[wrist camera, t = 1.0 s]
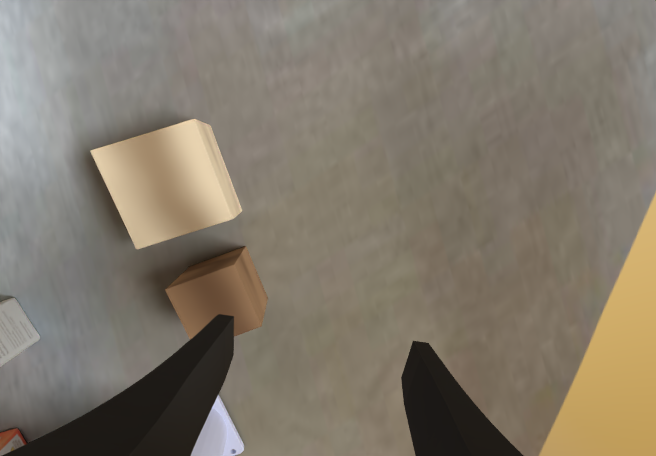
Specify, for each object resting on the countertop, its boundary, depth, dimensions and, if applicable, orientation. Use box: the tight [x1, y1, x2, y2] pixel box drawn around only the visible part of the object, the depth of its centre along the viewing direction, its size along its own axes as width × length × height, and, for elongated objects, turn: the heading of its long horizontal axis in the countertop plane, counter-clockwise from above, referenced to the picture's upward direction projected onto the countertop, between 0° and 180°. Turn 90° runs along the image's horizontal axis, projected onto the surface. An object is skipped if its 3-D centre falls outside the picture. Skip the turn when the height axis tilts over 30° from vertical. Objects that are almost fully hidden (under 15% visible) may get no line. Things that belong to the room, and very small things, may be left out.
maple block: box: [91, 119, 242, 249], centre depth 23 cm, size 7×7×4 cm
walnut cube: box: [165, 246, 268, 340], centre depth 24 cm, size 5×5×5 cm
